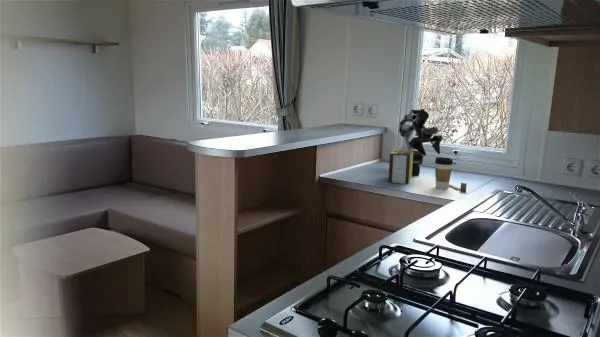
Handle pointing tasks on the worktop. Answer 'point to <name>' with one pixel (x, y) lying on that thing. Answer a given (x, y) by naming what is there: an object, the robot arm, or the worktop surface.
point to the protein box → (400, 166)
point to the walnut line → (462, 189)
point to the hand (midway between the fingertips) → (432, 154)
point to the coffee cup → (443, 172)
